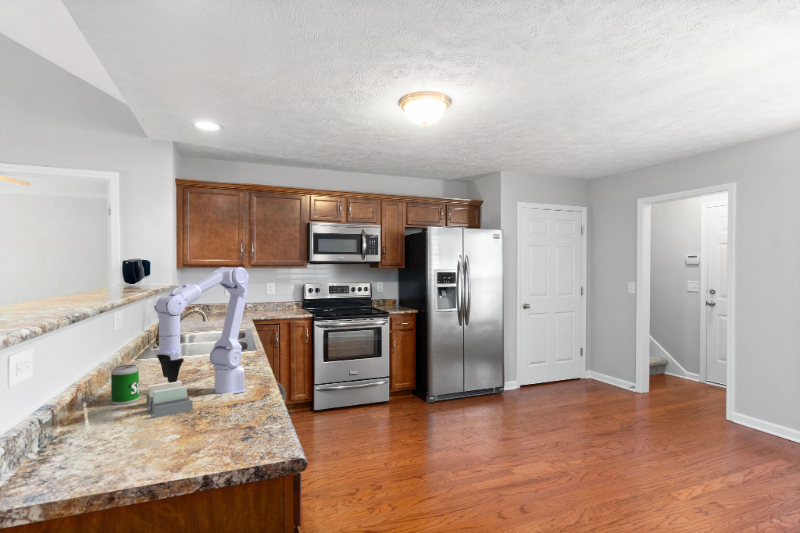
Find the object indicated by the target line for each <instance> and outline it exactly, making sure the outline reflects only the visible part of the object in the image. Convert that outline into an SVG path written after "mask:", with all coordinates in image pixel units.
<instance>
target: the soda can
mask: <svg viewBox="0 0 800 533" xmlns="http://www.w3.org/2000/svg"><path fill="white" fill-rule="evenodd" d="M139 373H140V369H139V367H138V366H137V365H136V364H123V365H118V366H115V367H114V368H113V369H112V370H111V371H110V374H111V376H110V378H111V381H110V382H111V384H110V387H111V390H110V391H111V392H110V393H111V395H110V396H111V398H110V400H111V401H110V402H111V404H112V405H115V406H116V405H117V406H122V405H130V404H133V403H136V402H137V401H138V400H139V399H140V374H139Z"/></svg>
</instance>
